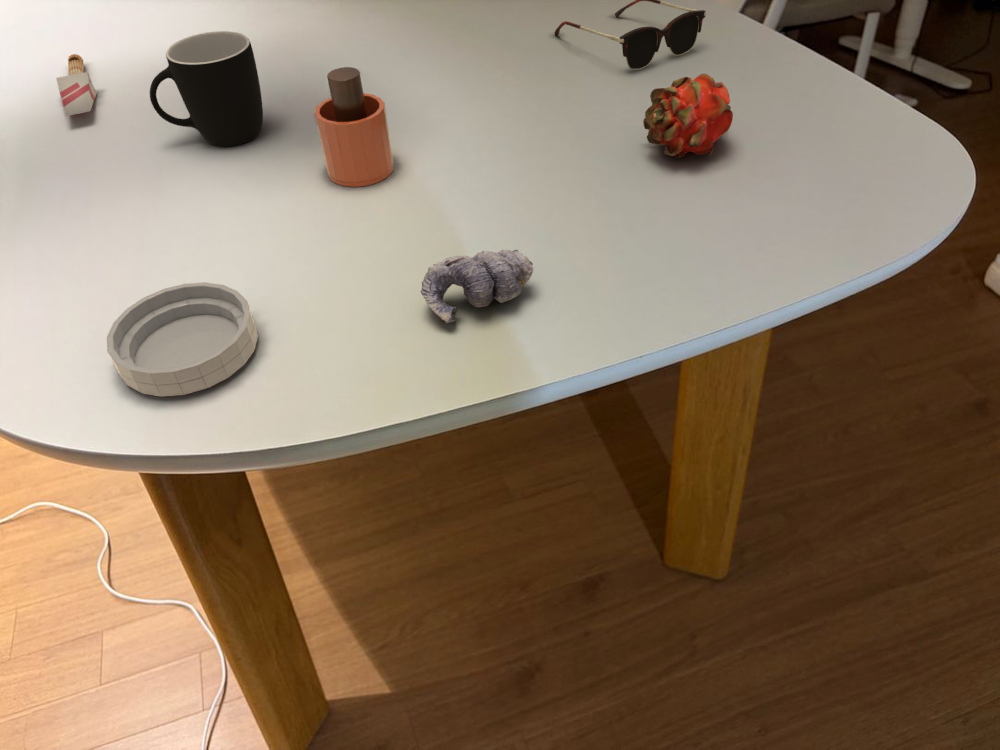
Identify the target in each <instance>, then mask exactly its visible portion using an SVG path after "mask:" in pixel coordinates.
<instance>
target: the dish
mask: <svg viewBox="0 0 1000 750" xmlns="http://www.w3.org/2000/svg"><path fill="white" fill-rule="evenodd" d="M258 338H259V334H258V329H257V326H256V322H255V320H254V317H253V314H252V310H251V308H250V304H249V302H248V300H247V299H246V298H245V297H244V296H243V295H242V294H241V293H240V292H239V291H238V290H236V289H233V288H232V287H229V286H227V285H224V284H220V283H212V282H206V281H205V282H203V281H202V282H189V283H182V284H178V285H174V286H169V287H166V288H162V289H160V290H157V291H155V292H153V293H150V294H148V295H146V296H144V297H142V298H140V299H139V300H138V301H136V302H135V303H133V304H132V305H130V306H129V307H127V308H126V309H125V310H124V311H123V312H122V313H121V314H120V315H119V316H118V317H117V319H115V320H114V322H113V323H112V325H111V327H110V328H109V331H108V333H107V336H106V351H107V354H108V355H109V357H110V360H111V361H112V363H113V366H114V367H115V369H116V370H117V372H118V375H119V376H120V378H121V379H122V381H123V382H124V384H125V385H126V386H128V387H130V388H132V389H133V390H135V391H137V392H138V393H141V394H143V395H149V396H155V397H173V396H184V395H189V394H192V393H196V392H199V391H203V390H206V389H209V388H212V387H213V386H215V385H217V384H219V383H221V382H223V381H225V380H227V379H228V378H230V377H231V376H233V375H234V374H235V373H236V372H237V371H238V370H240V369H242V368H243V367H244V365H246V363H247V362H248V361H249V359H250V357H252V355H253V353H254V352H255V351H256V350H255V349H256V347H257V342H258Z"/></svg>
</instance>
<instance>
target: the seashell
mask: <svg viewBox="0 0 1000 750" xmlns="http://www.w3.org/2000/svg"><path fill="white" fill-rule="evenodd" d="M533 265H534V263H533V261H530V259H529V257H528V256H526V255H525V254H524V253H522V252H520V251H519V250H518V249H514V250H510V249H502V250H499V251H498V252H494V251H488V250H487V251H486V250H481V251H479V252H476V254H475V255H473V256H472V257H471V256H468V255H454V256H450V257H446V258H444V259H443V260H441V261H440V262H437V263H434V264H433V265H430V266H429V267H428V269H427V272H425V275H424V277H423V280H422V281H421V290H420V293H421V295H422V298H423V299H424V300H425V302H426V304H427V305H428V307H429V308H430V310H431V311H433V313H434V314H435V315H437V317H439V318H440V319H441V320H443V321H444V322H445V325H447V324H450V323H453V322H456V321H457V319H456V315H457V313H458V309H457V306H452V305H450V304H448V303H447V302H446V301H445V300H444V296H445V294H446V293H447V291H448V289H449V288H451V286H452V285H455V286H458V287H461V288H462V289H463V296H464V297H465V298H466V301H468V303H469V304H470V305H471V306H473V307H474V308H485V307H488V306H489V305H490V304H491V303H492V302H493V301H494V300H496V301H497V302H499V303H500V304H504V303H505V302H508V301H511V300H513V299H514V298H516V297H518V296H519V295H520V294H521V292H522V288H523V287H525V285H526V283H527V282H528V281H530V279H531V278H532V274H533V273H534V267H533Z"/></svg>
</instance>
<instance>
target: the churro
mask: <svg viewBox="0 0 1000 750" xmlns="http://www.w3.org/2000/svg"><path fill="white" fill-rule="evenodd" d="M67 68H68V75H65V76H59V77H56V78H55V79H56V83H57V86H58V87H57V88H58V91H59V95H60V99H61V103H62V108H63V111H64V116H65V117H69V116H73V115H79V114H83V113H89V112H91V110H92V107H93V105H94V102H95V99H96V96H97V94H98V92H97V90H96V88H95V86H94V84H93V81H92V80H91V76H90V74H89V71H86V72H85V65H84V59H83V56H80V55H79V54H77V53H73V54H70V55H69V56H68V58H67Z"/></svg>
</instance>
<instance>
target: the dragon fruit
mask: <svg viewBox="0 0 1000 750" xmlns="http://www.w3.org/2000/svg"><path fill="white" fill-rule="evenodd" d="M649 97H650V102H651V105H650V106H649V107H648V108H647V109H646V110H645V112H644V118H643V121H642V123H643V128H644V130H648V133H647V135H646V139H647V142H648V143H649V144H652V145H655V146H662V145H664V149H663V151H664V155H667V156H670V157H671V156H672V157H673V158H676V159H680V158H682V157H684V156H685V155H686V154H687V153H689V152H690V153H693V154H695V155H697V156H701V155H705V157H709V156H710V155H712V154H713V152H714V149H715V148H714V147H715V146H714V143H715V142H716V141H718V140H719V139H720V137H721V136H724V135H725V134H726V133H727V132H728V131H729V130H730V128H731V126H732V123H733V117H734V112H733V111H732V110H731V105H730V103H731V98H730V93H729V90H728V88H727V86H725V84H724V83H723V82H722V81H719V82H718V81H717V82H716V81H715V79H714V77H712V76H711V75H709V74H708V73H700V74H698V75H697V76H696V77H695V78H693V79H692V78H691V77H688V76H683V77H681V78H678V79H676V80H675V79H674V80H673V81H672V82H671V85H670V86H667V87H659V88H657V87H656V88H654V89H653V90H652V91H651V92H650V95H649Z"/></svg>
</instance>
